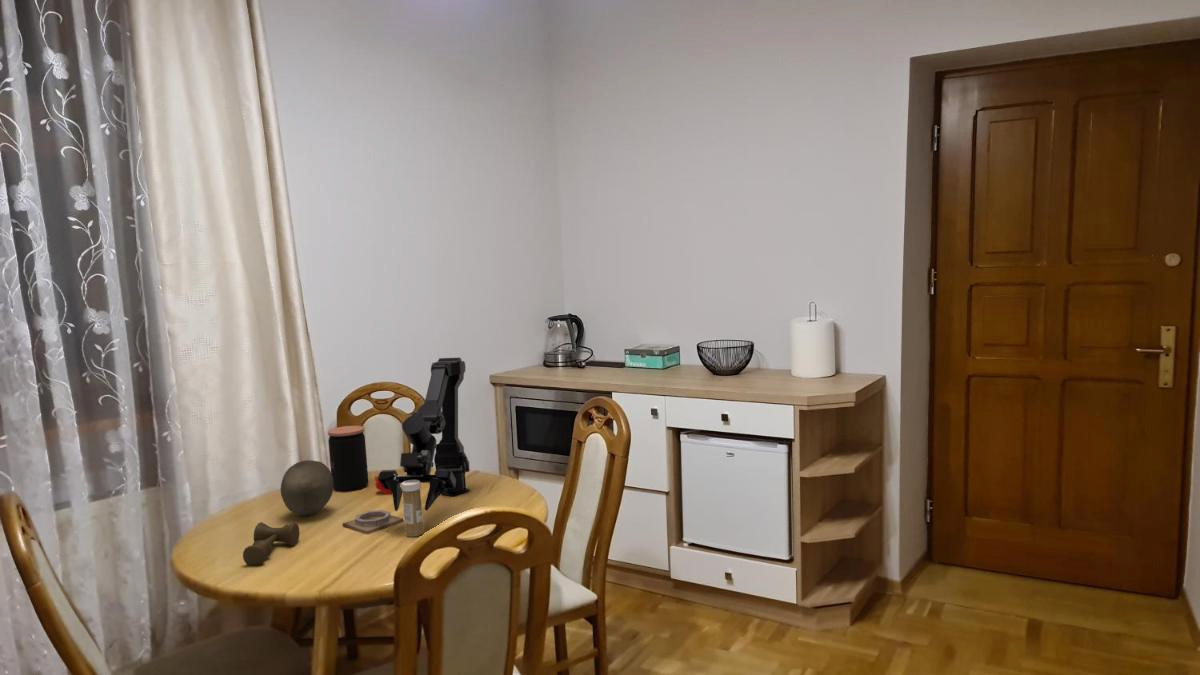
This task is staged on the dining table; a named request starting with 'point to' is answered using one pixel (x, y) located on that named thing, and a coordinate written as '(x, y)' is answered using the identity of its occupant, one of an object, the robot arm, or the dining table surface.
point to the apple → (381, 486)
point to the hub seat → (372, 521)
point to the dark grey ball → (307, 487)
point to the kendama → (269, 541)
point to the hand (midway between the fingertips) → (410, 510)
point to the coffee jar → (348, 458)
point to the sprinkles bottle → (412, 508)
